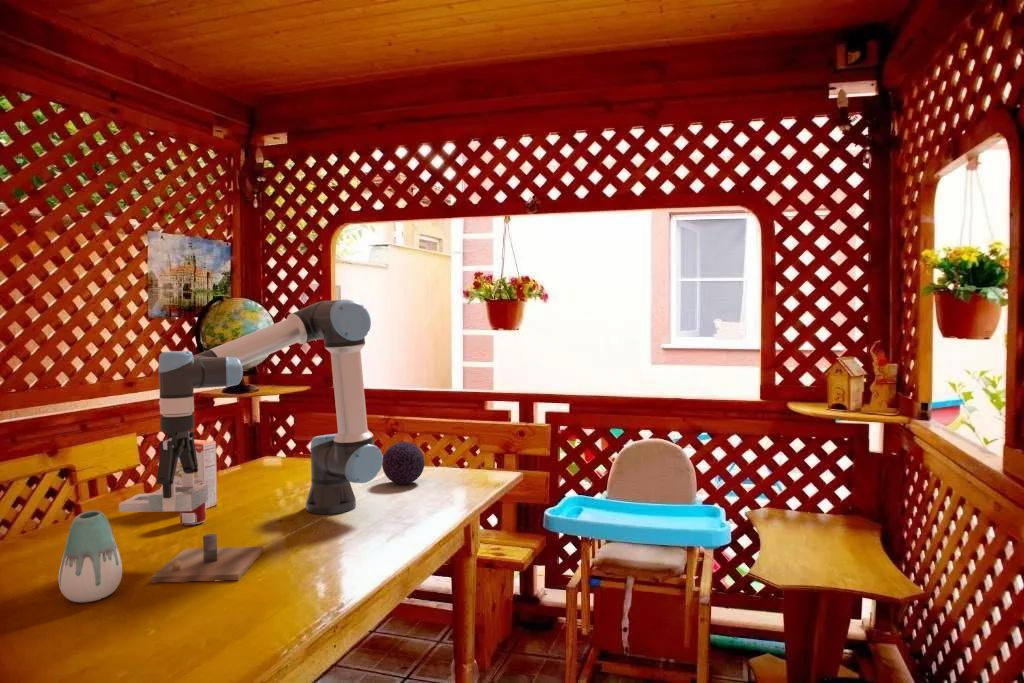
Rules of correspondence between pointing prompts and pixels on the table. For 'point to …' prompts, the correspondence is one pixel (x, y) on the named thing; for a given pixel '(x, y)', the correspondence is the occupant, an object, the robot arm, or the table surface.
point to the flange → (153, 502)
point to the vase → (90, 559)
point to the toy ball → (403, 463)
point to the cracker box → (203, 469)
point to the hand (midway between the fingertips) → (179, 504)
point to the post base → (208, 563)
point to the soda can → (194, 513)
